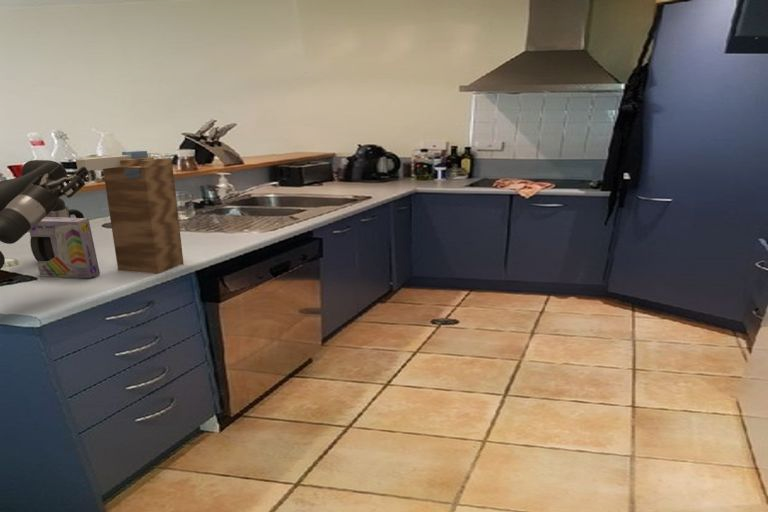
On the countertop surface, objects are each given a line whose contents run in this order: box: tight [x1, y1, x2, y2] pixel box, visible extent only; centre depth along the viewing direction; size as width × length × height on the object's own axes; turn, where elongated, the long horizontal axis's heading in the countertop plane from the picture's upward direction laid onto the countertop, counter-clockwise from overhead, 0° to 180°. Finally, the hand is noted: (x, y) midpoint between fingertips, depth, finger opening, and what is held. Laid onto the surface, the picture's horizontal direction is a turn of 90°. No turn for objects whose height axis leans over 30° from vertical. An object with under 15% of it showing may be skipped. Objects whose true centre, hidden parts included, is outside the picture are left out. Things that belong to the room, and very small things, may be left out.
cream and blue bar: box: [75, 150, 150, 171], centre depth 149 cm, size 24×4×4 cm, turn 163°
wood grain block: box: [102, 157, 184, 275], centre depth 157 cm, size 13×15×34 cm
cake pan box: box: [28, 217, 101, 279], centre depth 151 cm, size 19×5×18 cm, turn 77°
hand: (73, 169), depth 136 cm, fingers open, 8 cm apart
